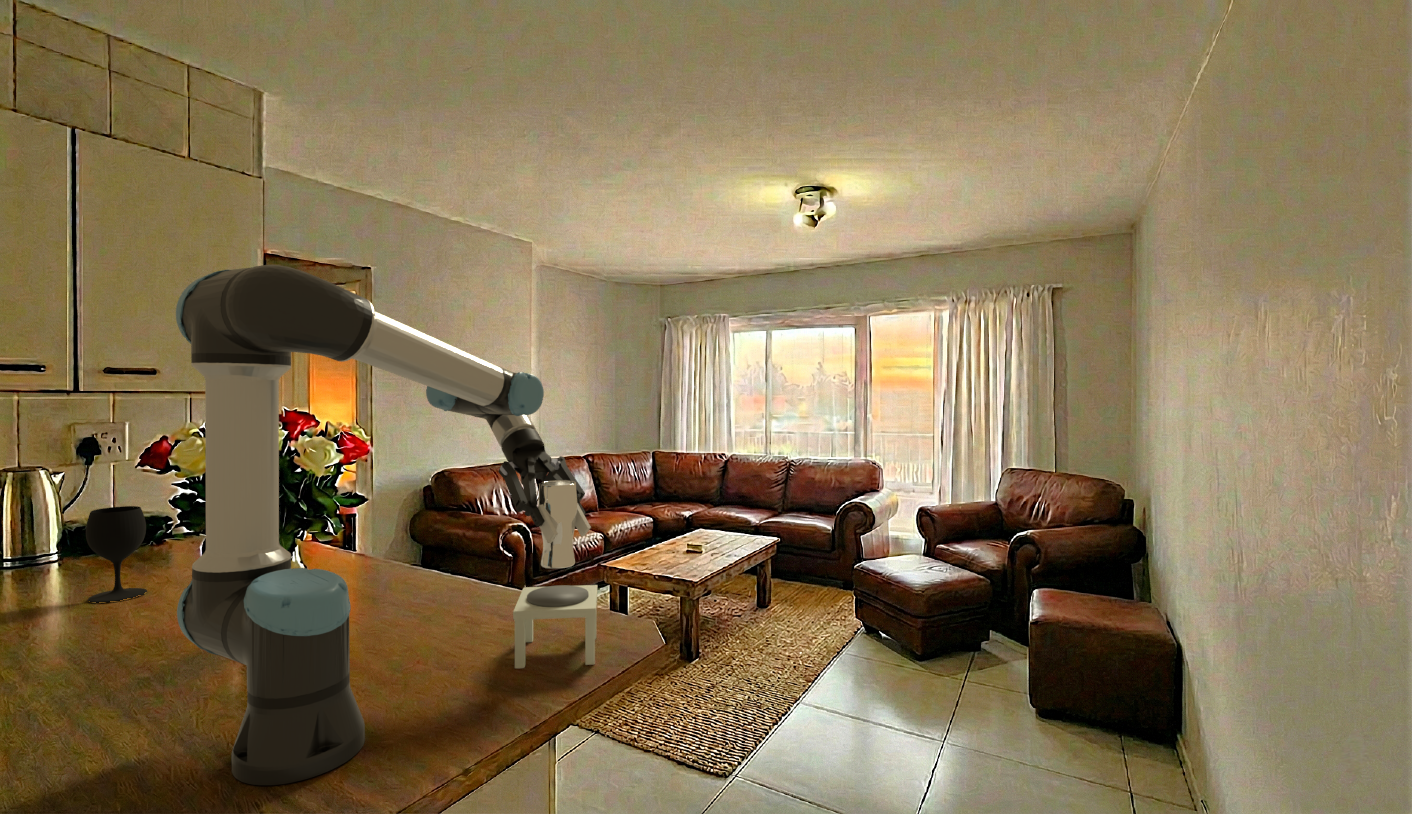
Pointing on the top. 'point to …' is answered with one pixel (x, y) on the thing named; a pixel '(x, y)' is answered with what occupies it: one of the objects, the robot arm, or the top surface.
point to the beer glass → (559, 522)
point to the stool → (555, 614)
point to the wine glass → (116, 543)
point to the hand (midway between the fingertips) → (569, 535)
